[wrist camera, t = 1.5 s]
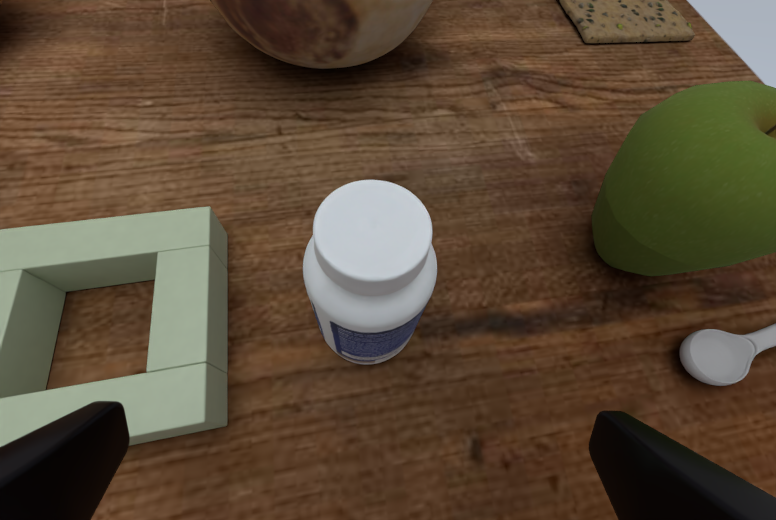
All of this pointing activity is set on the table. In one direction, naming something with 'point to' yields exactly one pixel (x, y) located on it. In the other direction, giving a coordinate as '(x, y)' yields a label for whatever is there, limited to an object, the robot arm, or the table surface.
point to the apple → (692, 183)
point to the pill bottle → (369, 269)
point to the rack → (167, 332)
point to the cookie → (627, 21)
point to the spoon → (723, 354)
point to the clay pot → (323, 28)
